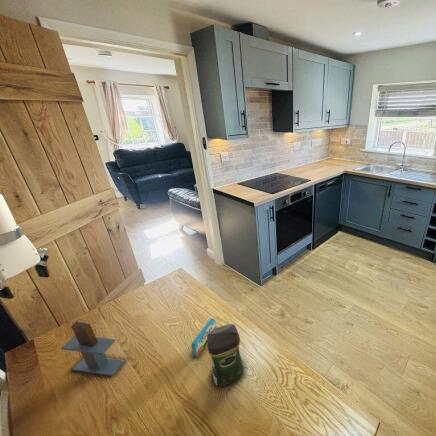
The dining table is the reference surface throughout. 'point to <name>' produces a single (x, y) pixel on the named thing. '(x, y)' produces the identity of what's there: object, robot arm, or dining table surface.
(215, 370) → the coffee jar
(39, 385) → the dining table surface
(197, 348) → the turquoise printed box
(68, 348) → the pedestal
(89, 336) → the domino
